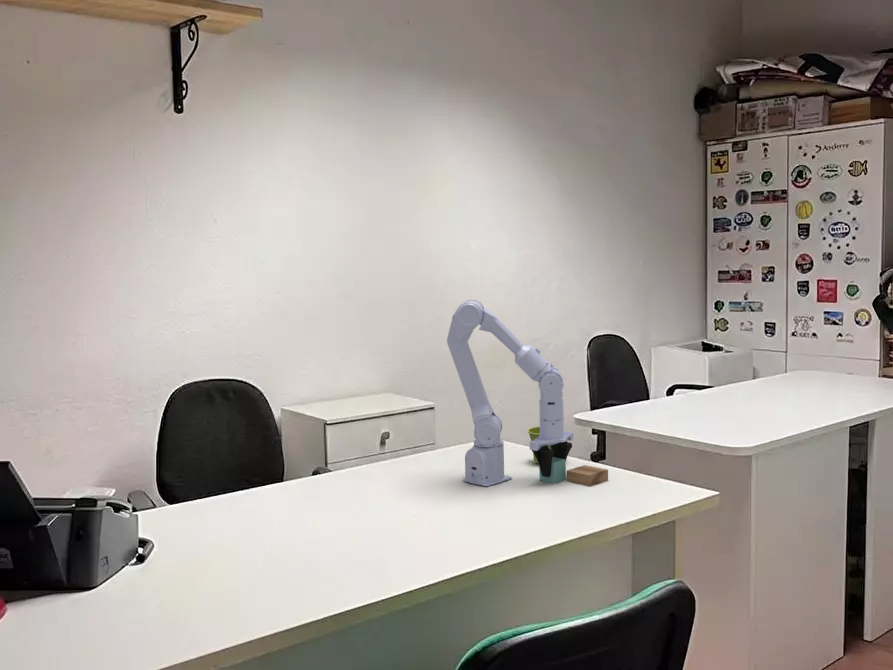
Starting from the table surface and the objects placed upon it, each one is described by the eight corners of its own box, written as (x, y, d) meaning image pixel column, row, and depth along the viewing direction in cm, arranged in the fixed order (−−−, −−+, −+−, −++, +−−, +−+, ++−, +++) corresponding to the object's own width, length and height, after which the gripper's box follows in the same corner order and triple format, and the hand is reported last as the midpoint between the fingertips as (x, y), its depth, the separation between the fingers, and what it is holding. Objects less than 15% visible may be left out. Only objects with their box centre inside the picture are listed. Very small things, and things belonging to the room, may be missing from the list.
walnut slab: (590, 487, 211) (589, 475, 210) (566, 482, 216) (566, 470, 215) (608, 481, 215) (608, 469, 215) (584, 476, 220) (584, 465, 220)
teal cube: (554, 483, 214) (553, 462, 214) (539, 480, 217) (539, 460, 217) (565, 479, 217) (565, 459, 217) (551, 476, 220) (550, 456, 220)
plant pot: (566, 466, 230) (565, 433, 229) (529, 467, 230) (528, 434, 229) (562, 457, 239) (561, 425, 238) (526, 458, 239) (526, 426, 238)
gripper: (545, 425, 208) (546, 483, 209) (583, 416, 218) (584, 470, 219) (522, 422, 213) (523, 478, 214) (560, 412, 223) (561, 466, 224)
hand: (552, 474), depth 217 cm, fingers closed on teal cube, 4 cm apart
